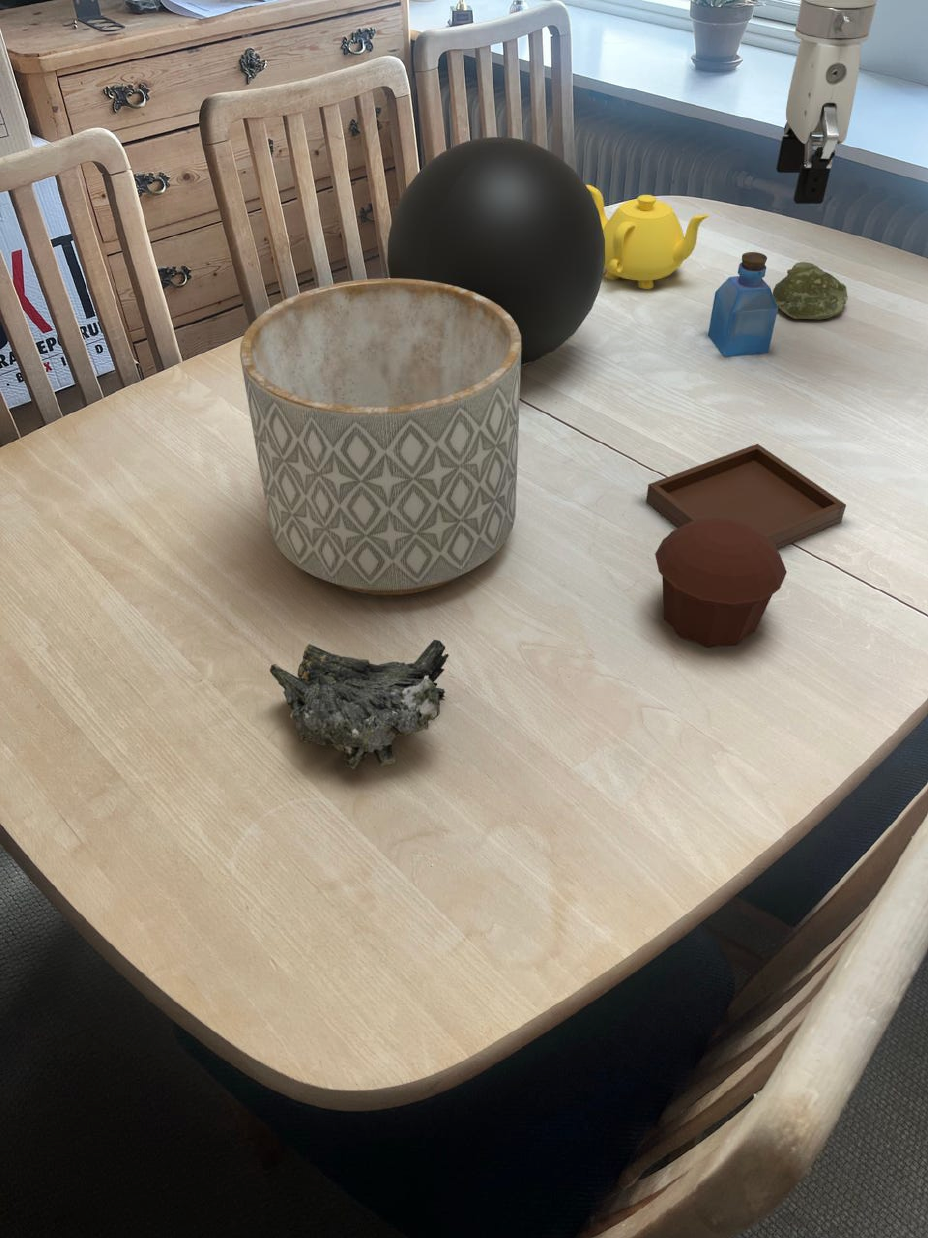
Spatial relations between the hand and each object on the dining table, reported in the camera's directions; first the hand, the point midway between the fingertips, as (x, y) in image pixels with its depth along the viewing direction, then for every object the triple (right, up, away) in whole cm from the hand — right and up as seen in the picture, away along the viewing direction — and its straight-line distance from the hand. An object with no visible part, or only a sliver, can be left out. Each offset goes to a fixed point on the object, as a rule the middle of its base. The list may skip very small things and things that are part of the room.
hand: (798, 186), depth 118 cm
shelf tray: (-9, -39, -9) cm, 41 cm away
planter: (-46, -41, -11) cm, 63 cm away
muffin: (-16, -50, -21) cm, 57 cm away
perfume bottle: (-2, -13, +19) cm, 23 cm away
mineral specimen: (-47, -59, -30) cm, 82 cm away
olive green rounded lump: (+10, -5, +27) cm, 29 cm away
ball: (-35, -16, +17) cm, 42 cm away
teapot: (-13, +1, +34) cm, 37 cm away
